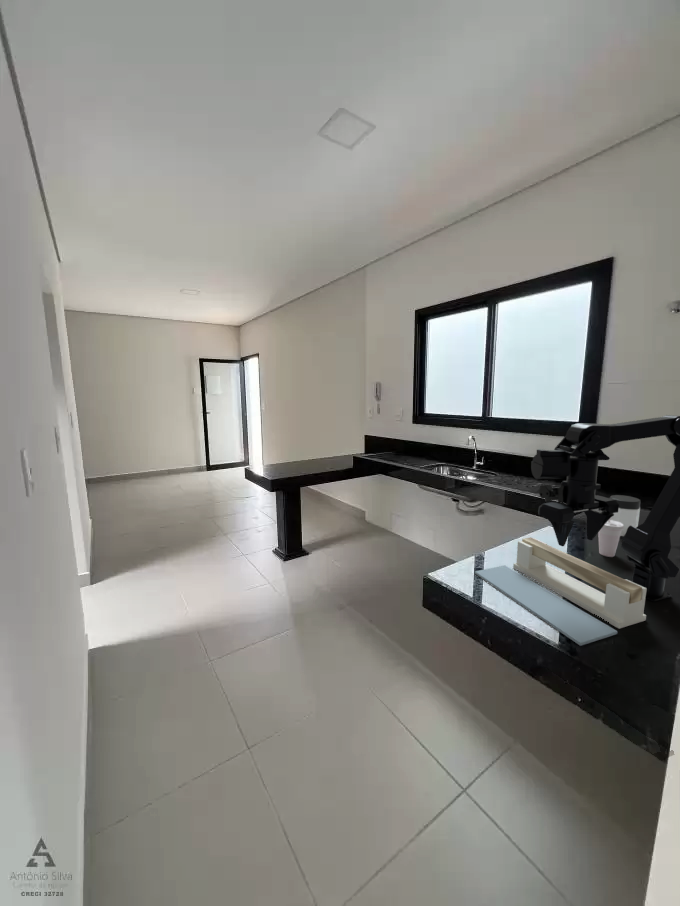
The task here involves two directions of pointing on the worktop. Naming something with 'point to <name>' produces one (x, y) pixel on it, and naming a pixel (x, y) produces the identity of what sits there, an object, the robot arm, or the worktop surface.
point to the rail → (582, 569)
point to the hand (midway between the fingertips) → (575, 542)
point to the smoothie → (609, 537)
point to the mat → (547, 606)
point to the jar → (626, 511)
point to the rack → (582, 590)
